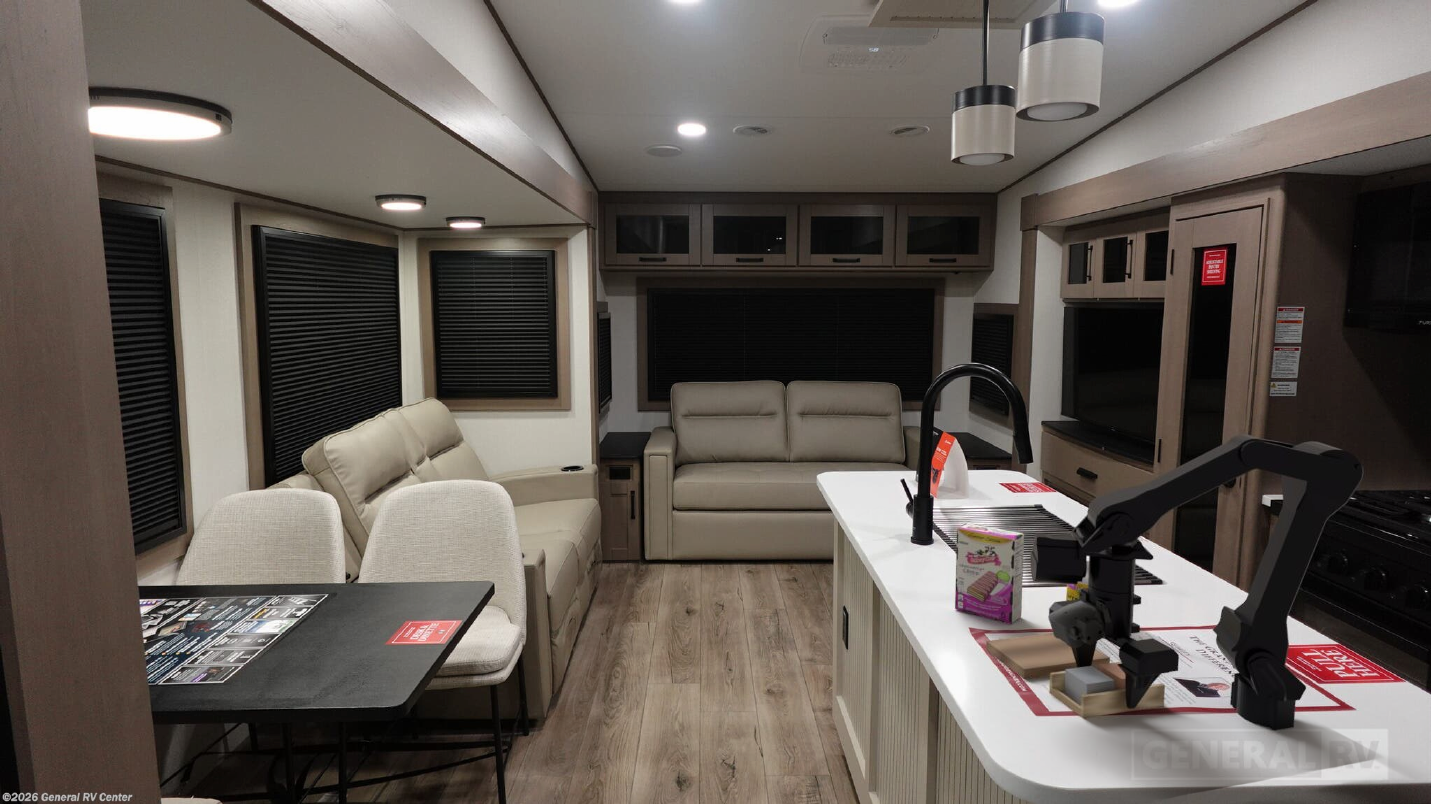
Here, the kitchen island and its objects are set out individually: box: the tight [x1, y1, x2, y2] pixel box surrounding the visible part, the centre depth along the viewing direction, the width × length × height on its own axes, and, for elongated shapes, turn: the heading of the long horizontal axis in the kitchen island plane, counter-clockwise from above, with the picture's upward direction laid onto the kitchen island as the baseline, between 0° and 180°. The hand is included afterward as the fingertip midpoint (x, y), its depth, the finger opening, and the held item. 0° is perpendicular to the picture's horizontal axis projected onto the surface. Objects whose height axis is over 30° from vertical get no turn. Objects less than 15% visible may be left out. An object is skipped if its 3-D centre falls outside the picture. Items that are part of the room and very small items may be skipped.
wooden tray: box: [1049, 666, 1166, 719], centre depth 104 cm, size 13×7×4 cm, turn 102°
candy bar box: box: [954, 522, 1025, 625], centre depth 137 cm, size 11×5×16 cm, turn 47°
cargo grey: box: [1064, 666, 1114, 706], centre depth 104 cm, size 4×4×4 cm
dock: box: [985, 632, 1111, 680], centre depth 117 cm, size 10×15×3 cm, turn 102°
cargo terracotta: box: [1099, 661, 1125, 690], centre depth 105 cm, size 4×4×4 cm
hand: (1106, 691), depth 104 cm, fingers open, 9 cm apart
